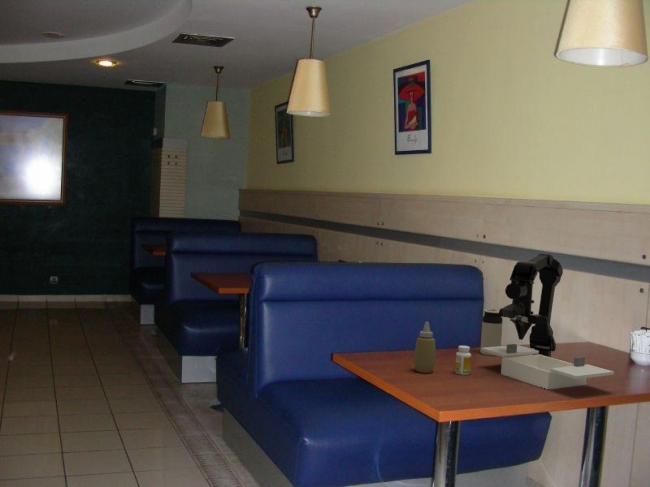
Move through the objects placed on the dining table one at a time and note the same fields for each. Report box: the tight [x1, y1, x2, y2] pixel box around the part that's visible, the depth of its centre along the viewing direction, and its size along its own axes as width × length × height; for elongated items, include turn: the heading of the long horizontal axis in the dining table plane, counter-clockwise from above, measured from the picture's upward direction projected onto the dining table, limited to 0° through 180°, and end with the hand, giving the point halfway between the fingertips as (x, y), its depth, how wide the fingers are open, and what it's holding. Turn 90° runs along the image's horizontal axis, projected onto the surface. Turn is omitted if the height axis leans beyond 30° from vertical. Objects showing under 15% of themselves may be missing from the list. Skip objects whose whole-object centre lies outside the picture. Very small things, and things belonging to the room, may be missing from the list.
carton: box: [500, 354, 587, 390], centre depth 262 cm, size 19×22×6 cm
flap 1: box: [480, 343, 539, 358], centre depth 276 cm, size 18×11×4 cm, turn 120°
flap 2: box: [550, 356, 615, 379], centre depth 247 cm, size 18×11×4 cm, turn 120°
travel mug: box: [479, 308, 504, 357], centre depth 301 cm, size 8×8×18 cm
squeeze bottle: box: [413, 321, 437, 374], centre depth 265 cm, size 8×8×18 cm
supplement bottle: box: [454, 345, 472, 376], centre depth 265 cm, size 5×5×10 cm
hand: (520, 339), depth 267 cm, fingers closed
